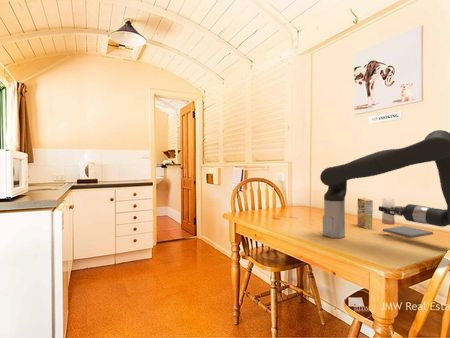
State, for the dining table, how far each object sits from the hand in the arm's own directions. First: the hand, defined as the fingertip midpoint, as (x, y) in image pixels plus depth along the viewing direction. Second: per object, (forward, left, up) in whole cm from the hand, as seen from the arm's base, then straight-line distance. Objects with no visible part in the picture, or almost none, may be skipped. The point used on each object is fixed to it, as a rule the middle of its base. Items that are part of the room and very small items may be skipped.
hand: (383, 208), depth 130 cm
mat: (+13, -3, -13) cm, 18 cm away
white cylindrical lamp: (0, -3, -7) cm, 7 cm away
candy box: (+4, +14, -13) cm, 20 cm away
